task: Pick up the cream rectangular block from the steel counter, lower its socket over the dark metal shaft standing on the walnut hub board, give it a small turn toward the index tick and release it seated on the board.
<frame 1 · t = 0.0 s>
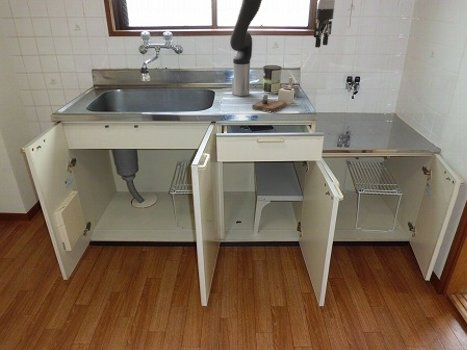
hand: (321, 46, 161), 29 cm above the table, fingers open, 8 cm apart
shaft: (265, 103, 175), resting on hub board
cream rectangular block: (285, 102, 182), on the table
pipe connector: (289, 95, 195), on the table
coffee can: (271, 91, 203), on the table
hub board: (269, 107, 175), on the table
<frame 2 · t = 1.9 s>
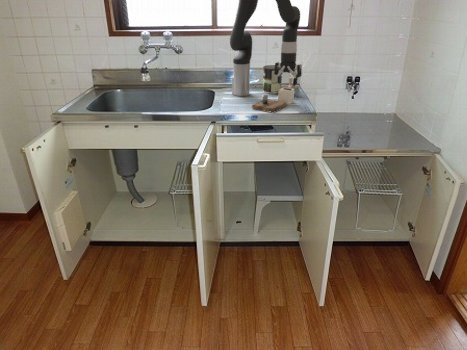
hand: (287, 84, 177), 10 cm above the table, fingers open, 8 cm apart
nothing on the table moved.
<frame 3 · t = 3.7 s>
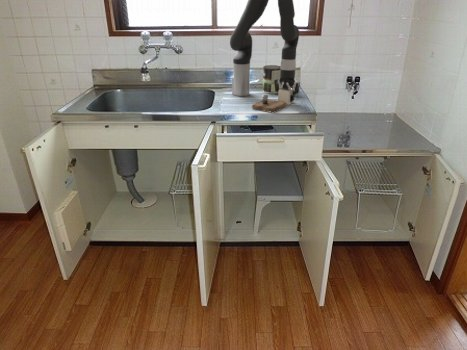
hand: (285, 100, 182), 1 cm above the table, fingers closed on cream rectangular block, 6 cm apart
cream rectangular block: (285, 102, 182), on the table, touching gripper
everything else where it was.
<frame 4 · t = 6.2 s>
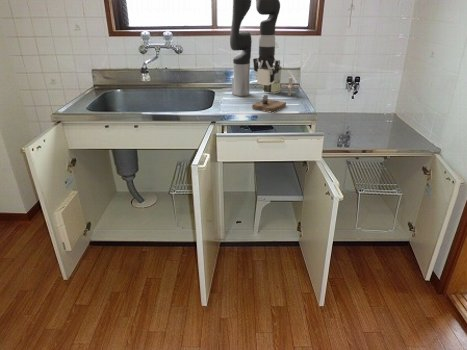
hand: (265, 81, 169), 13 cm above the table, fingers closed on cream rectangular block, 6 cm apart
cream rectangular block: (265, 83, 170), point 12 cm above the table, touching gripper
everything else where it was.
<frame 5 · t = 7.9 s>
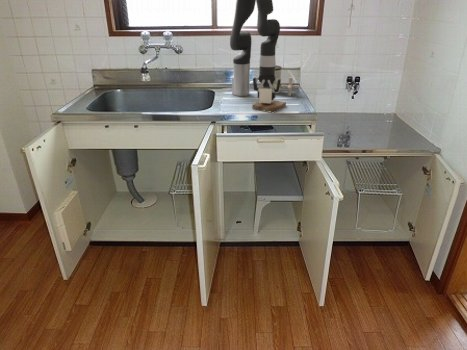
hand: (266, 99, 174), 4 cm above the table, fingers closed on cream rectangular block, 6 cm apart
cream rectangular block: (266, 101, 174), point 3 cm above the table, touching gripper
everything else where it was.
when the fingers open (4 cm above the table, at t = 9.2 s): cream rectangular block stays where it is, resting on hub board.
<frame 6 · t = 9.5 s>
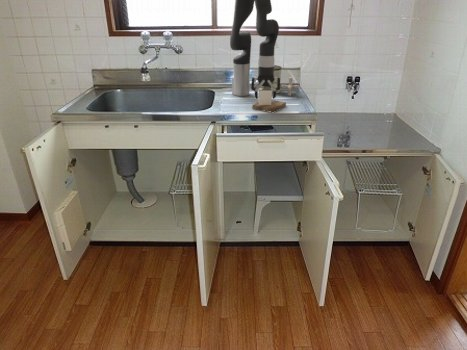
hand: (265, 98, 173), 5 cm above the table, fingers open, 8 cm apart
cream rectangular block: (264, 103, 175), point 2 cm above the table, touching hub board
everything else where it was.
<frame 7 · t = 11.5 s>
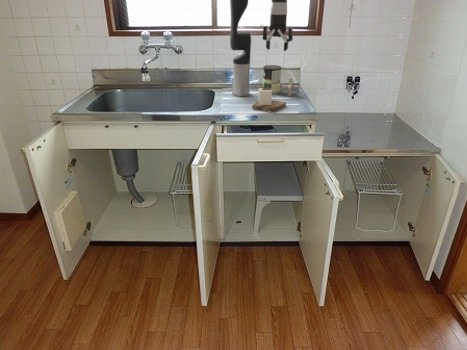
hand: (276, 50, 167), 27 cm above the table, fingers open, 8 cm apart
nothing on the table moved.
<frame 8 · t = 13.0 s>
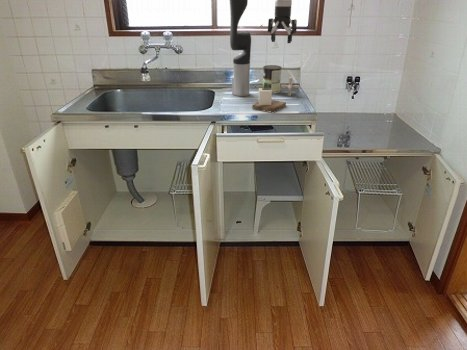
hand: (281, 42, 167), 30 cm above the table, fingers open, 8 cm apart
nothing on the table moved.
at the end: cream rectangular block 0.1 cm from the shaft (horizontally); cream rectangular block point 2.0 cm above the table; cream rectangular block tilted 0° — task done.
